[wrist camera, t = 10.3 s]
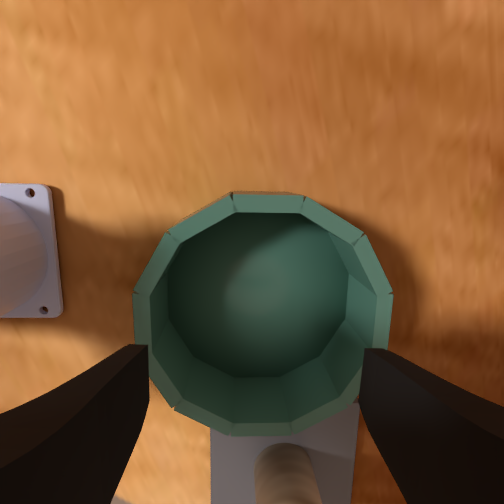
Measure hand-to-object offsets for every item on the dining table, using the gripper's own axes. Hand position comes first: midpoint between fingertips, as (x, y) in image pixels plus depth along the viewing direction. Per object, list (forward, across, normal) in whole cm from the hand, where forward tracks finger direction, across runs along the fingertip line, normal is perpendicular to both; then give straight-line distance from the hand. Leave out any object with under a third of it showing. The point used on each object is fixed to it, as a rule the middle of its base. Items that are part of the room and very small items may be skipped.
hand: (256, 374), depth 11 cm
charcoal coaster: (+10, -3, +13) cm, 17 cm away
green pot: (+10, -1, +1) cm, 10 cm away
